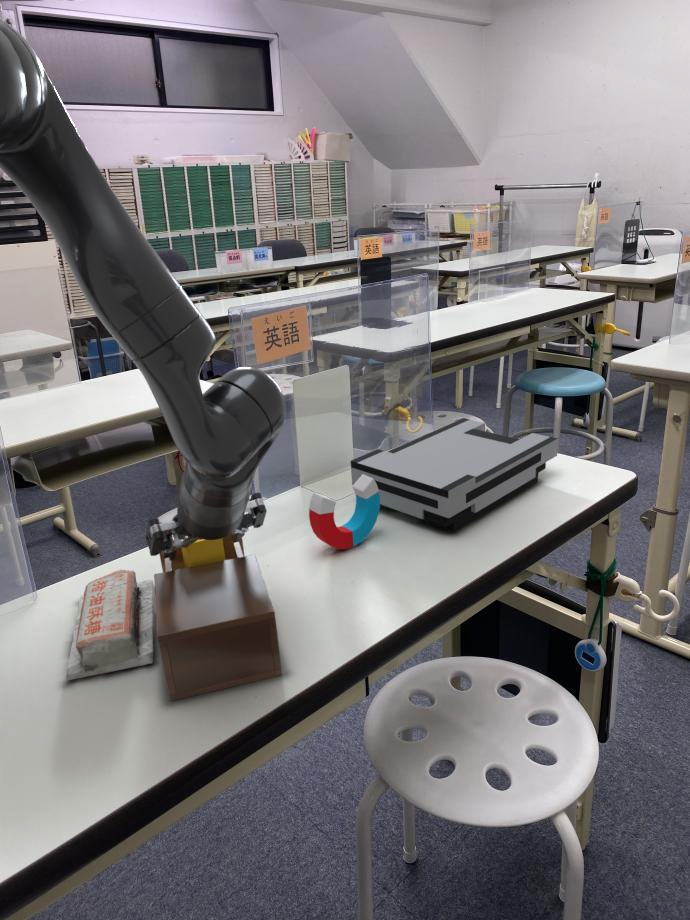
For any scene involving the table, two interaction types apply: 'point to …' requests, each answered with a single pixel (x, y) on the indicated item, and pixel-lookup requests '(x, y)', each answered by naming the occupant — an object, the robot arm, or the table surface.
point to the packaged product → (113, 626)
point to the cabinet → (215, 627)
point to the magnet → (359, 522)
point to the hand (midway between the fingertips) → (202, 544)
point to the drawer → (230, 551)
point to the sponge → (203, 552)
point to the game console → (455, 472)
